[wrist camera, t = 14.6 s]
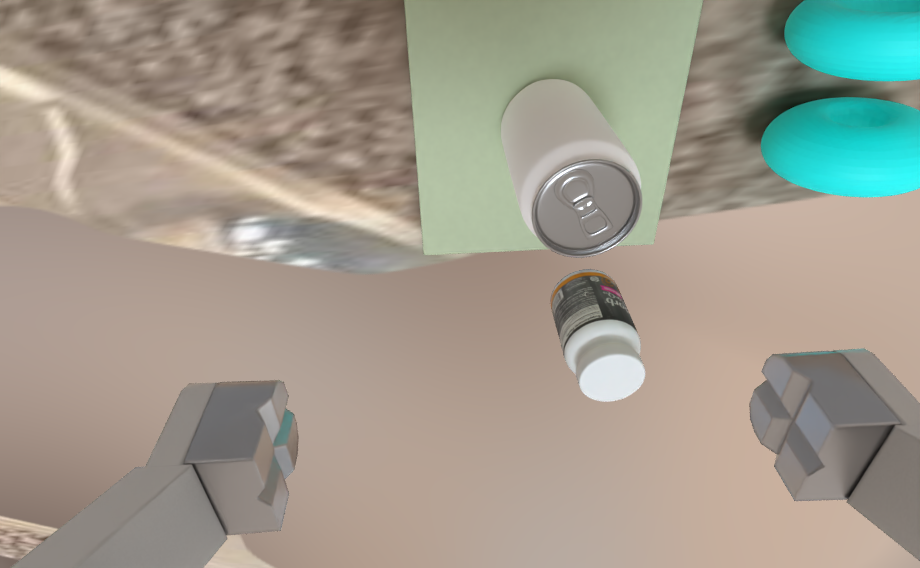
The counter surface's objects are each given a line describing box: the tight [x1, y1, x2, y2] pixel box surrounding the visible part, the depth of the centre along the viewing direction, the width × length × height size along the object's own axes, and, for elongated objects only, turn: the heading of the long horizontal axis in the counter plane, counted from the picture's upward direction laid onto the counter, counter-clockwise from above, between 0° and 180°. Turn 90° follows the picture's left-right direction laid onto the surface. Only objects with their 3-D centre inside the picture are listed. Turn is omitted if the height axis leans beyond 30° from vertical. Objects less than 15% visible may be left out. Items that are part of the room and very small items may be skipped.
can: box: [501, 79, 642, 258], centre depth 34 cm, size 6×6×12 cm
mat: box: [404, 0, 703, 255], centre depth 39 cm, size 20×18×1 cm
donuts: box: [761, 0, 920, 197], centre depth 34 cm, size 10×10×10 cm
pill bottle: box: [551, 269, 645, 402], centre depth 44 cm, size 6×6×10 cm
